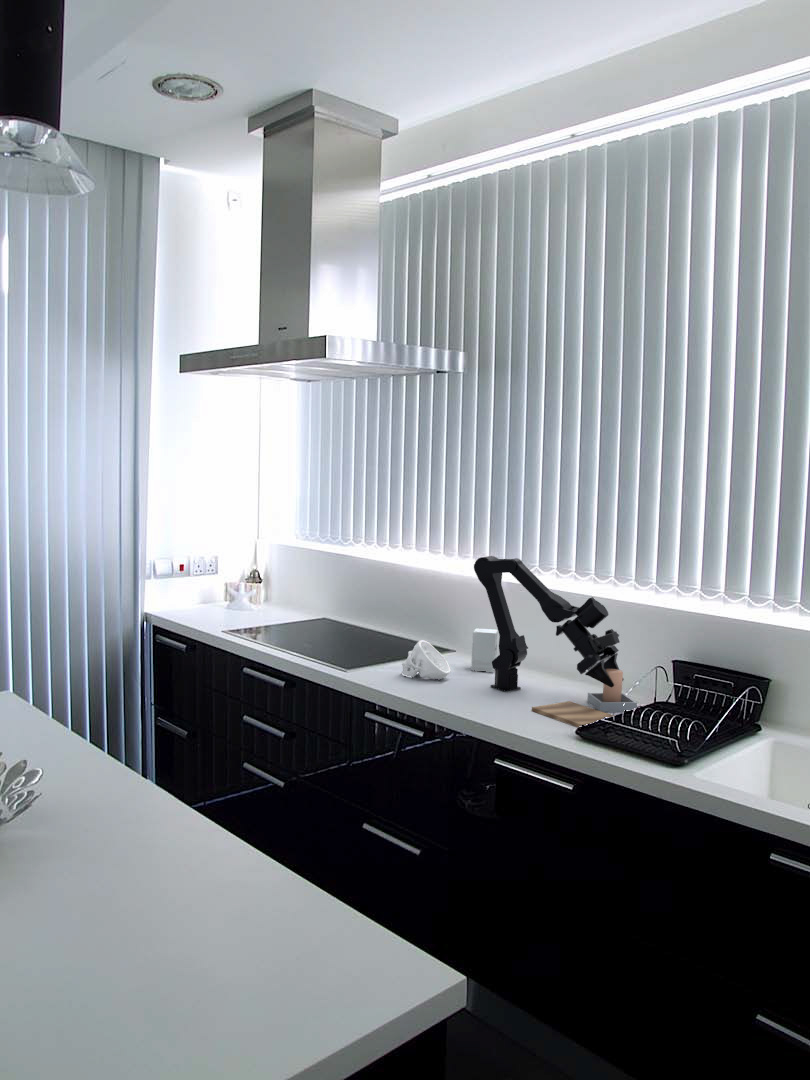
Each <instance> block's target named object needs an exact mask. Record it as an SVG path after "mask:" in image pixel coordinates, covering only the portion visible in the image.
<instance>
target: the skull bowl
mask: <svg viewBox="0 0 810 1080" xmlns="http://www.w3.org/2000/svg"><path fill="white" fill-rule="evenodd" d="M407 654H408V655H407V658H406V659H405V660H404V661H403V662H402V663H401V666H402V671H401V673H403V674H404V675H407V676H411V677H413V678H414V677H415V676H416V675H419V677H420V678H427V679H429V680H435V679H438V680H439V681H441V680H442V678H443V679H444V678H446V677H447V676H448V675H449V674H450V673H451V670H452V669H451V667H450V665H449V663H448V661H447V659H446V658H445V656H444V655H442V653H441V652H439V651H438V650H437V649H436V648H435V647H434V646H433V645H432V644H431V643H430V642H428V641H426V640H424V639H421V640H419V641H417V642H416V644H415V645H414V647H413V649H412V650H409V651H408V653H407ZM417 672H419V673H420V674H419V673H418V674H416V673H417ZM440 679H441V680H440Z"/></svg>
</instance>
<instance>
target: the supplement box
mask: <svg viewBox="0 0 810 1080" xmlns="http://www.w3.org/2000/svg"><path fill="white" fill-rule="evenodd" d="M498 634H499V632H498V629H490V628H475V629H474V630H473V632H472V646H471V650H472V651H471V664H470V665H471V667H470V668H471V669H470V671H471V670H475V671H474V672H477V671H486V672H485V673H489V672H494V673H495V669H493V666H492V661H493V660H494V659H495V658H496V657H497V653H498V651H497V649H498Z"/></svg>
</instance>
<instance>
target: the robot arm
mask: <svg viewBox="0 0 810 1080" xmlns="http://www.w3.org/2000/svg"><path fill="white" fill-rule="evenodd" d="M473 570H474V572H475V575H476V577H477V579H478V581H479V582H480V583H481V584H482V586H483V587H484V588H485V591H486V595H487V597H488V601H489V604H490V607H491V610H492V614H493V618H494V621H495V625H496V627H497V630H498V634H499V635H498V636H499V639H498V652H499V654H498V656H496V658H495V659H494V660H493V661H492V666H493V669H495V670H494V684H490V685H489V686H490V688H493V689H496V690H499V691H501V692H511V691H518V690H521V688H522V687H520V686H519V685H518V683H519V681H518V680H519V673H518V668H517V667H520V666H521V663H522V662H523V661H524V660H525V659H526V657H527V655H528V649H529V646H528V645H527V643H526V638H525V635H524V634H523V635H519V634H518V632H517V631H516V629H515V626H514V623H513V620H512V616H511V612H510V608H509V606H508V602H507V600H506V596H505V592H504V589H503V586H502V585H503V584H502V581H503V573H509V574H511V576H513V577H514V578H515V580H516V581H517V582H519V584H521V585H522V587H523V588H524V589H526V591H528V592H529V594H530V595H531V596H532V597H534V598H535V600H536V601H537V602H538V604H539V606H540V608H541V611H542V613H544V615H545V616H546V617H547V619H548V621H550V622H552V623H557V624H558V623H560V622H564V621H565V622H564V623H563V624H561V625H560V624H558V625H556V626H555V627H556V631H555V636H556V637H558V636H561V635H562V634H564V636H565V637H566V638H567V639H568V640H569V643H571V644H572V645H573V650H574V652H578V653H579V655H580V656H581V657H582V658H583V659H581V660H580V661H579V662H578V663H577V664H576V670H577V671H578V672H579V674H580V675H583V674H584V675H585V676H588V677H590V678H593V679H594V680H596V681H598V682H600V683H602V684H603V683H604V684H605V685H607V686H609V687H613V686H614V683H613V681H612V680H611V678H610V677H609V675H608V673H607V672H606V670H605V669H618V670H620V668H619V665H618V662H617V660H618V659H617V657H618V655H619V654H618V652H619V649H618V648H617V646H616V645H617V644H619V643H620V640H619V638H620V634H619V633H618V632H617V630H616V631H615V630H614V629H613V628H611V629H608V630H606V631H605V633H604V635H602V636H601V635H600V636H598V635H597V634H595V633H591V632H589V629H588V628H590V629H594V628H595V627H597V626H598V625H599V624H600V623H602V621H603V620H605V619H607V617H608V616H609V611H608V609H607V608H606V606H605V605H604V604H602V603H600V602H599V601H598V600H596V599H595V598H594V597H593V596H591V597H589V598H588V599H587V600H586V601H585V602H584V603H583V604H582V605H581V606H580V607H579V606H575V605H572V604H571V603H570V602H569V601H568V600H566V599H565V598H563V597H562V596H560V595H559V594H556V593H555V592H553V591H551V590H550V589H549V588H548V587H547V586H546V585H545V584H544V583H543V582H542V581H541V580H540V579H539V578H538V577H537V576H536V575H535V574H534V573H533V572H532V571H531V570H530V569H529V568H528V567H527V566H526V565H525V564H524V563H523V561H522V560H521V559H520V558H499V557H497V556H495V555H489V556H482V557H478V558H477V559H476V560H475V561H474V564H473ZM572 617H575V618H574V619H570V618H572ZM624 680H625V679H624V678H623V679H622V682H624Z"/></svg>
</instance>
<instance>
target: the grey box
mask: <svg viewBox="0 0 810 1080" xmlns="http://www.w3.org/2000/svg"><path fill="white" fill-rule="evenodd" d="M602 700H603V692H587V701H586V702H587V703H588V704H589V705H591V706H592V707H593V708H594V709H596V710H599V711H602V712H605V713H609V712H611V713H614V712H615V713H616V712H617V713H624V712H623V711H624V710H632V709H634V708H637V709H638V703H637V701H635V700H634V699H632V698H631V697H630V696H628V695H626V694H625V693H623V692H622V696H621V702H602ZM624 703H625V704H626V705H624V706H623V704H624Z"/></svg>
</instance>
